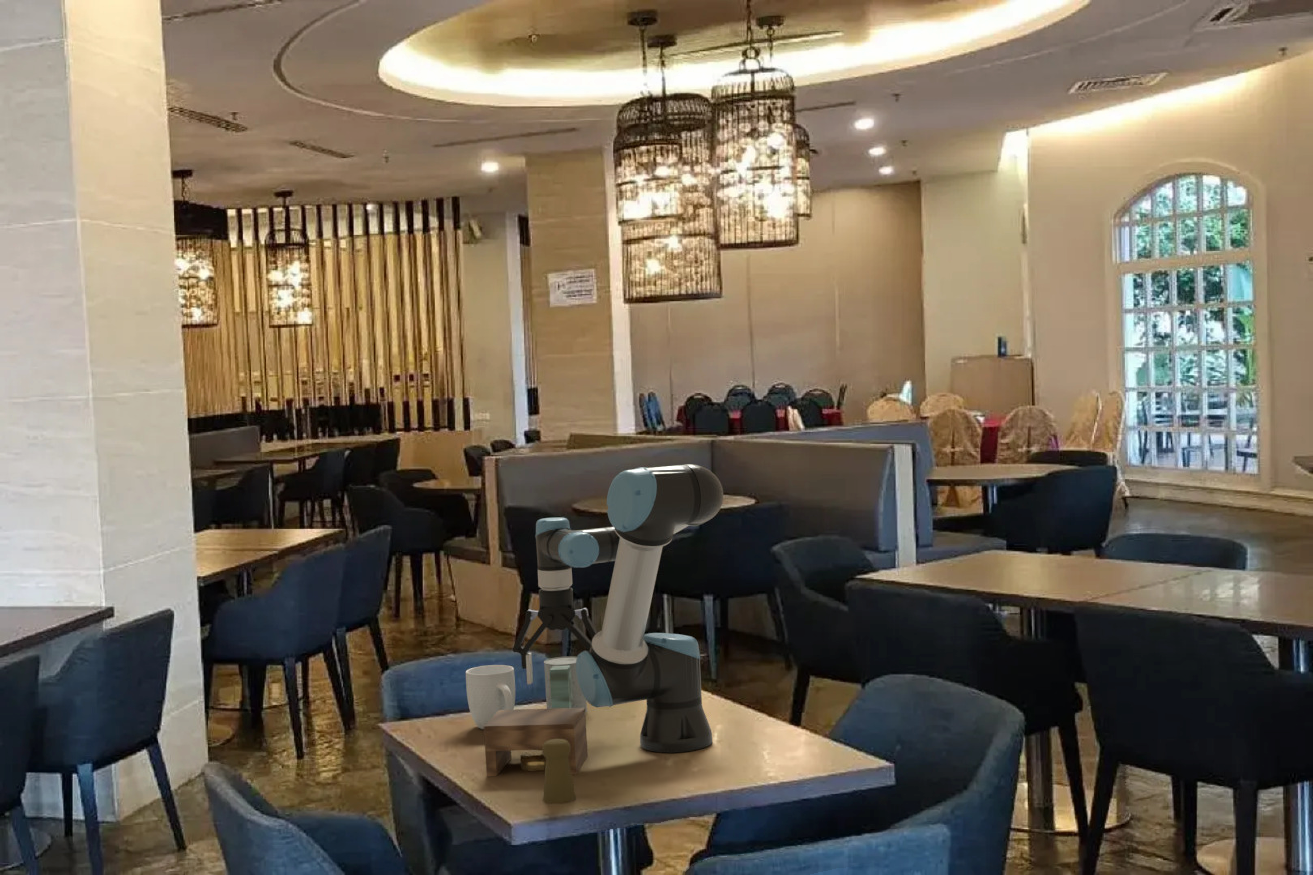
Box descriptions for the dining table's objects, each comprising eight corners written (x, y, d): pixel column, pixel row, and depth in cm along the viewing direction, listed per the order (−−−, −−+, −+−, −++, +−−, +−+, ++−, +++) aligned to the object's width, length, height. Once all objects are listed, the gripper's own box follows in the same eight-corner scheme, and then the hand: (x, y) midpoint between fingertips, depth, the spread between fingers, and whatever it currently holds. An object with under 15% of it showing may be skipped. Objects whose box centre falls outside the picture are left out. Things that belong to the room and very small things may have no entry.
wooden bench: (587, 755, 298) (584, 707, 298) (576, 774, 285) (573, 724, 284) (502, 757, 301) (499, 709, 300) (486, 776, 287) (483, 726, 286)
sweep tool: (556, 728, 324) (552, 666, 324) (573, 727, 324) (570, 665, 323) (535, 756, 300) (531, 689, 300) (554, 755, 300) (550, 688, 299)
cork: (563, 805, 264) (559, 745, 264) (536, 801, 267) (533, 742, 267) (582, 796, 269) (578, 737, 269) (555, 792, 273) (552, 734, 272)
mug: (534, 729, 324) (530, 671, 323) (490, 738, 318) (486, 679, 317) (503, 718, 336) (500, 662, 336) (460, 726, 330) (457, 669, 330)
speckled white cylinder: (586, 716, 334) (583, 663, 334) (544, 718, 334) (541, 665, 334) (588, 707, 344) (585, 655, 343) (548, 708, 344) (545, 657, 343)
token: (561, 763, 294) (561, 751, 294) (544, 772, 288) (543, 760, 288) (532, 761, 297) (531, 749, 297) (514, 770, 291) (513, 758, 291)
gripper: (613, 583, 323) (618, 677, 324) (503, 586, 326) (508, 679, 327) (608, 588, 316) (613, 685, 317) (496, 591, 318) (501, 687, 319)
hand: (560, 682), depth 322 cm, fingers open, 13 cm apart
